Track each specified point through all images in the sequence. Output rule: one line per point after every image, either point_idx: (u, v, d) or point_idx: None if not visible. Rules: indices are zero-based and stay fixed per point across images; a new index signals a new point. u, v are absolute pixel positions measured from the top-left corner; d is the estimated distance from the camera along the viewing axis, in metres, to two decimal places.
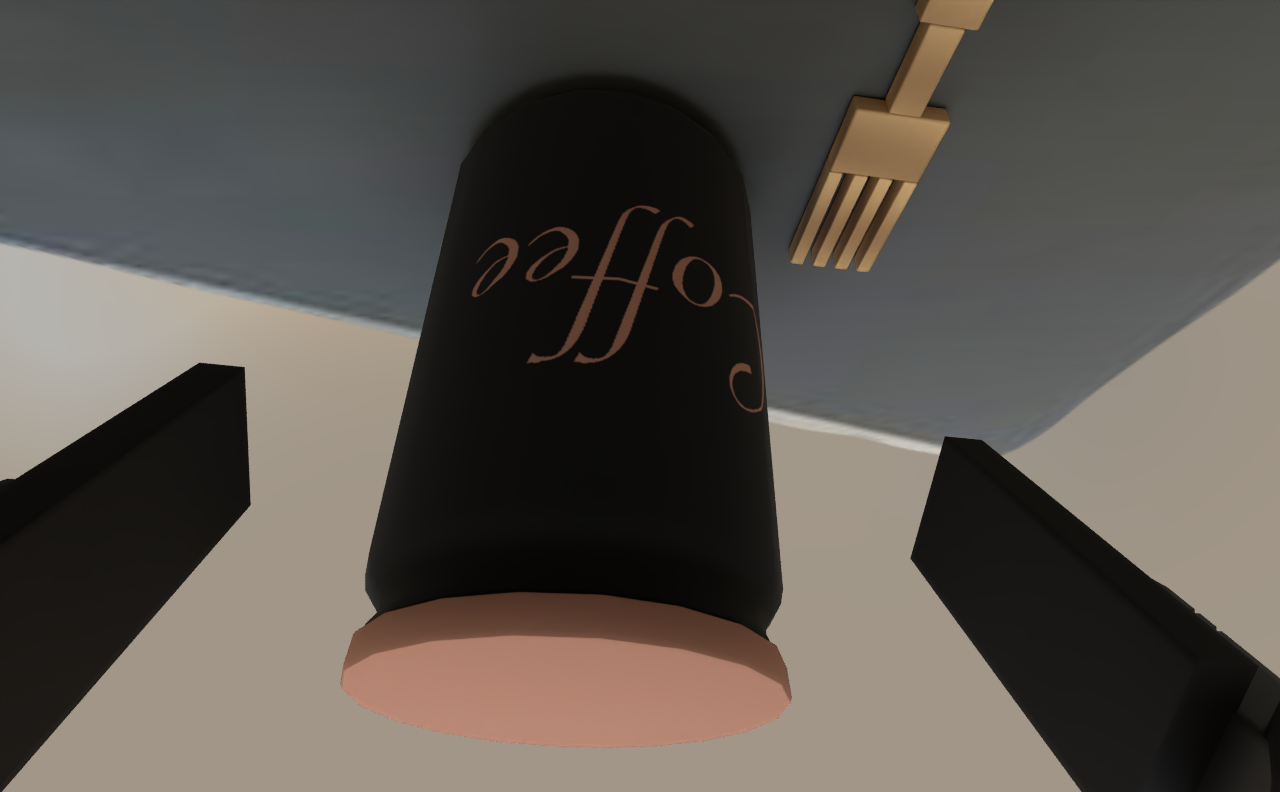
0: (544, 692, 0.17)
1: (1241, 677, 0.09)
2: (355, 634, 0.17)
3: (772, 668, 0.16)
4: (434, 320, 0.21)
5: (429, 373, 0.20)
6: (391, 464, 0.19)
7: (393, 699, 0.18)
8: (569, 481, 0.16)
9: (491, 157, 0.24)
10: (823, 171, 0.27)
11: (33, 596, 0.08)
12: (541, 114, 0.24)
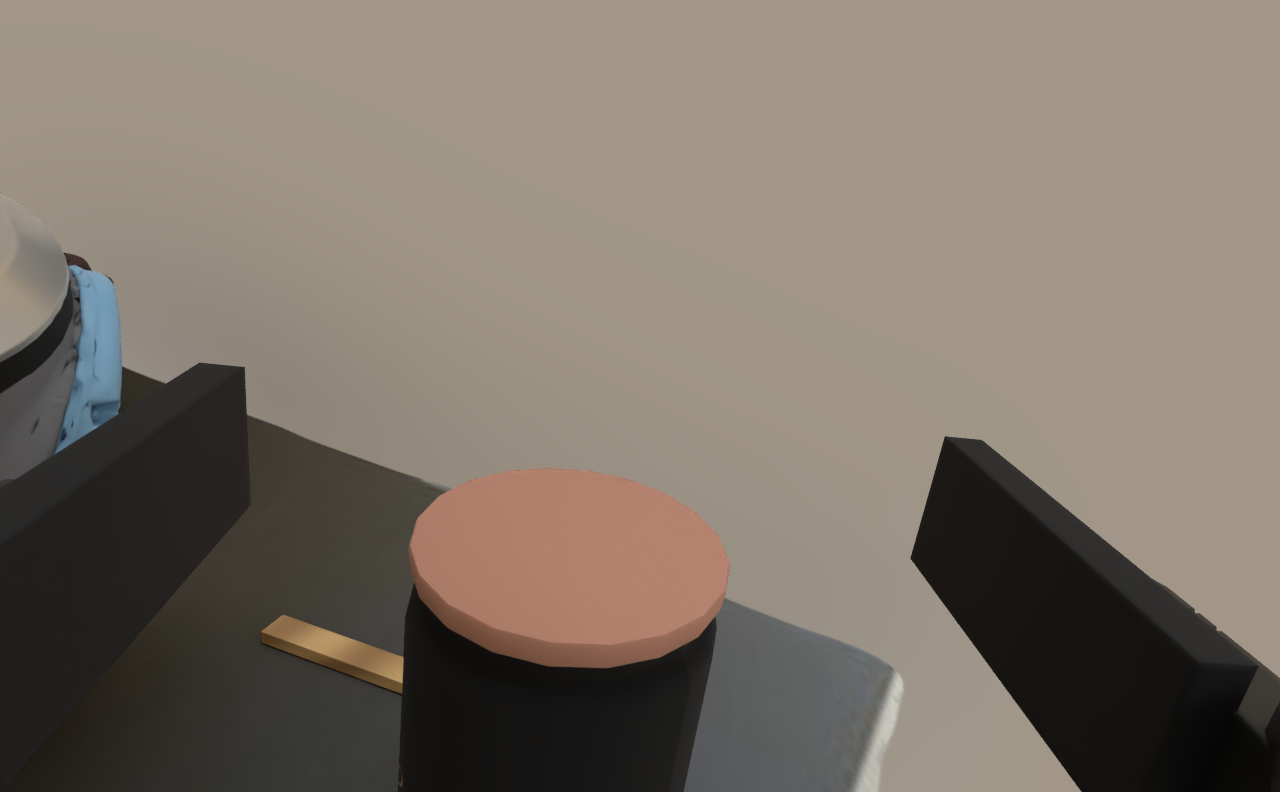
0: (533, 537, 0.26)
1: (1241, 677, 0.09)
2: (444, 622, 0.22)
3: None
4: None
5: (412, 760, 0.25)
6: (435, 738, 0.24)
7: (530, 609, 0.22)
8: None
9: None
10: None
11: (33, 596, 0.08)
12: None
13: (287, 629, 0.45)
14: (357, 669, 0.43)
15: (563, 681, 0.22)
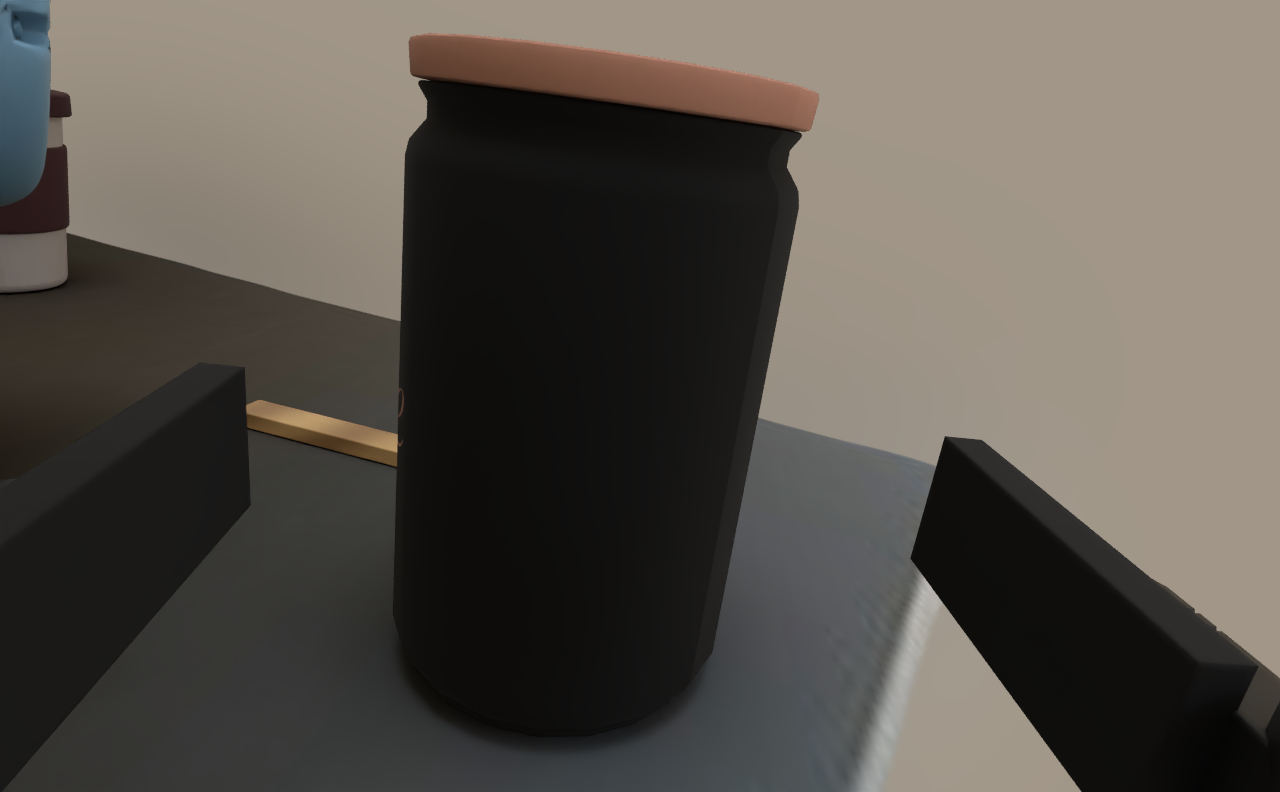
0: None
1: (1241, 677, 0.09)
2: (458, 73, 0.17)
3: None
4: (424, 423, 0.20)
5: (416, 338, 0.19)
6: (448, 269, 0.18)
7: None
8: None
9: (400, 586, 0.23)
10: None
11: (34, 596, 0.08)
12: None
13: (264, 409, 0.39)
14: (346, 442, 0.37)
15: (620, 143, 0.16)
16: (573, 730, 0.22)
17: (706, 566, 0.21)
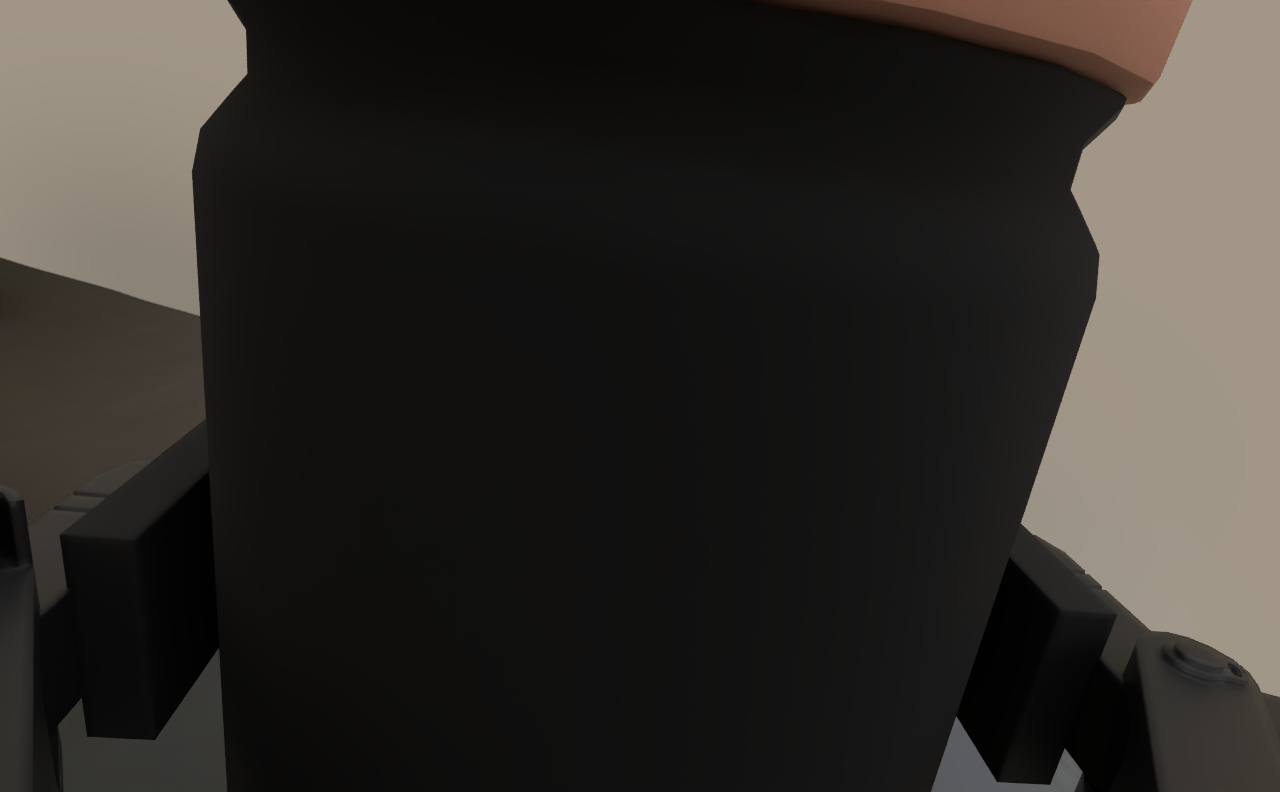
0: None
1: (1102, 625, 0.09)
2: None
3: None
4: (244, 758, 0.09)
5: (220, 577, 0.09)
6: (256, 451, 0.07)
7: None
8: None
9: None
10: None
11: (181, 562, 0.09)
12: None
13: None
14: None
15: (724, 122, 0.05)
16: None
17: None
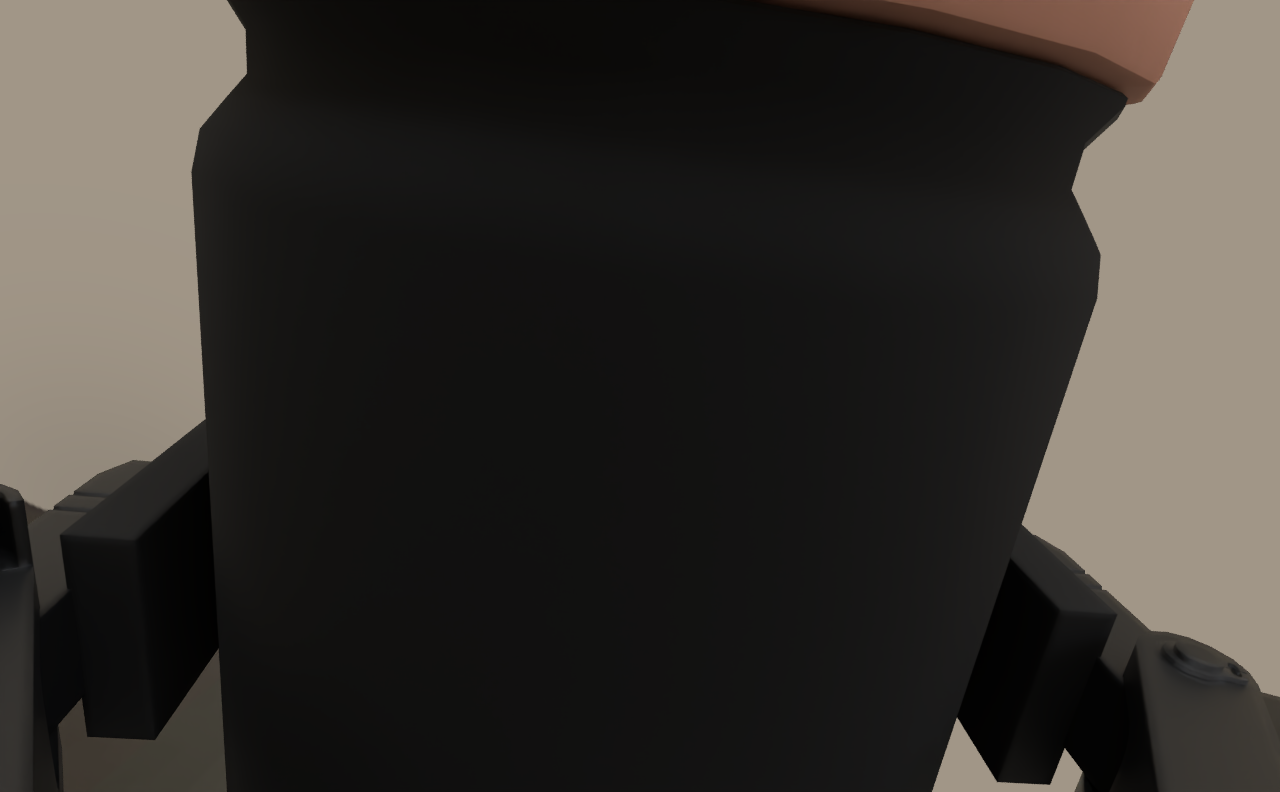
0: None
1: (1102, 625, 0.09)
2: None
3: None
4: (244, 759, 0.09)
5: (220, 578, 0.08)
6: (256, 452, 0.07)
7: None
8: None
9: None
10: None
11: (181, 561, 0.09)
12: None
13: None
14: None
15: (724, 121, 0.05)
16: None
17: None
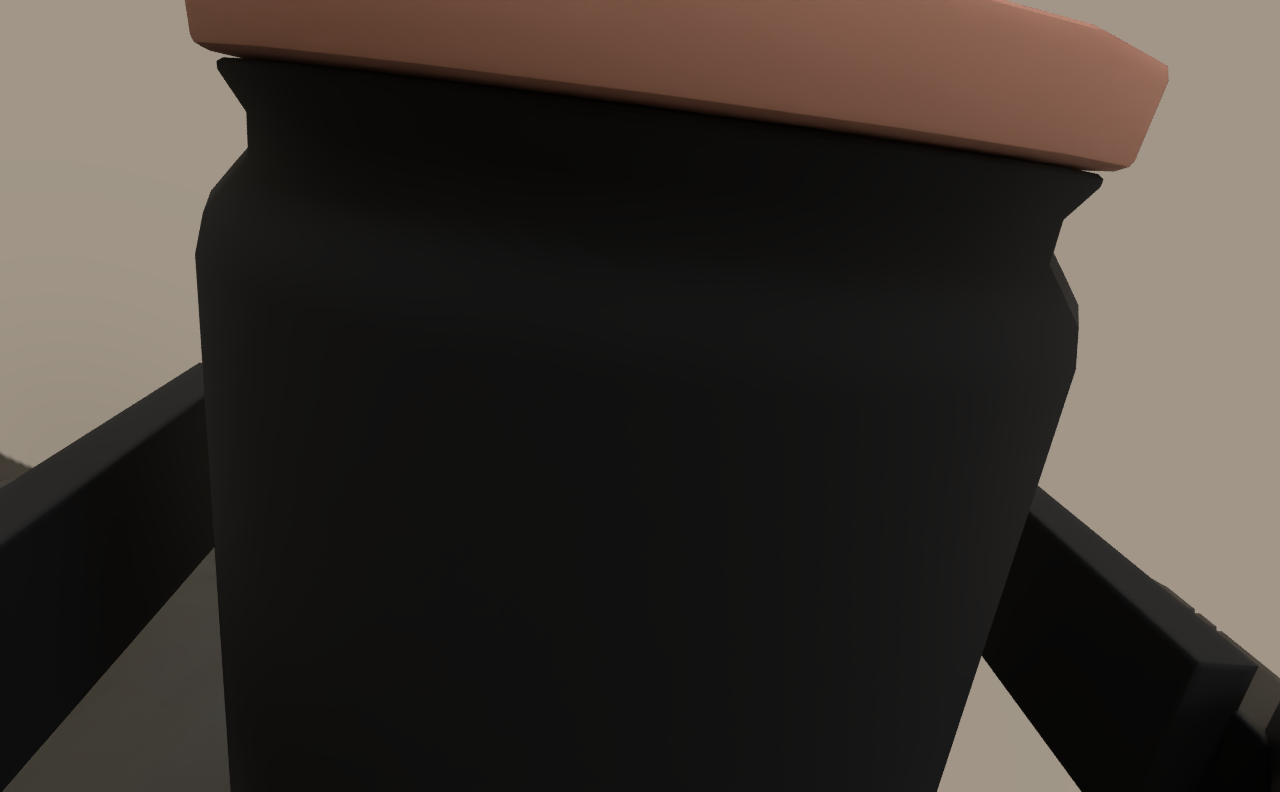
0: None
1: (1241, 677, 0.09)
2: (246, 28, 0.06)
3: None
4: None
5: (226, 637, 0.09)
6: (260, 528, 0.07)
7: None
8: None
9: None
10: None
11: (34, 596, 0.08)
12: None
13: None
14: None
15: (706, 228, 0.06)
16: None
17: None
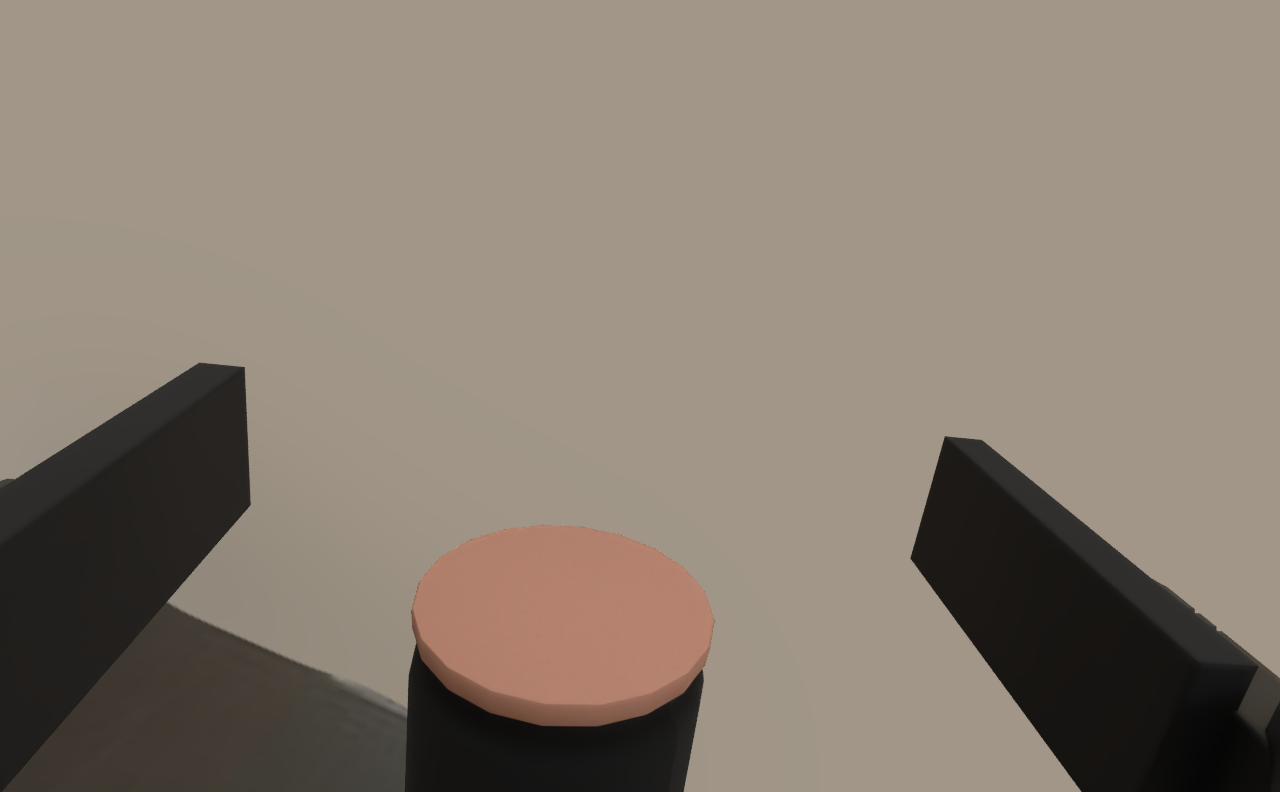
0: (529, 597, 0.27)
1: (1241, 677, 0.09)
2: (444, 684, 0.24)
3: None
4: None
5: None
6: None
7: (525, 671, 0.24)
8: None
9: None
10: None
11: (33, 596, 0.08)
12: None
13: None
14: None
15: (556, 738, 0.23)
16: None
17: None
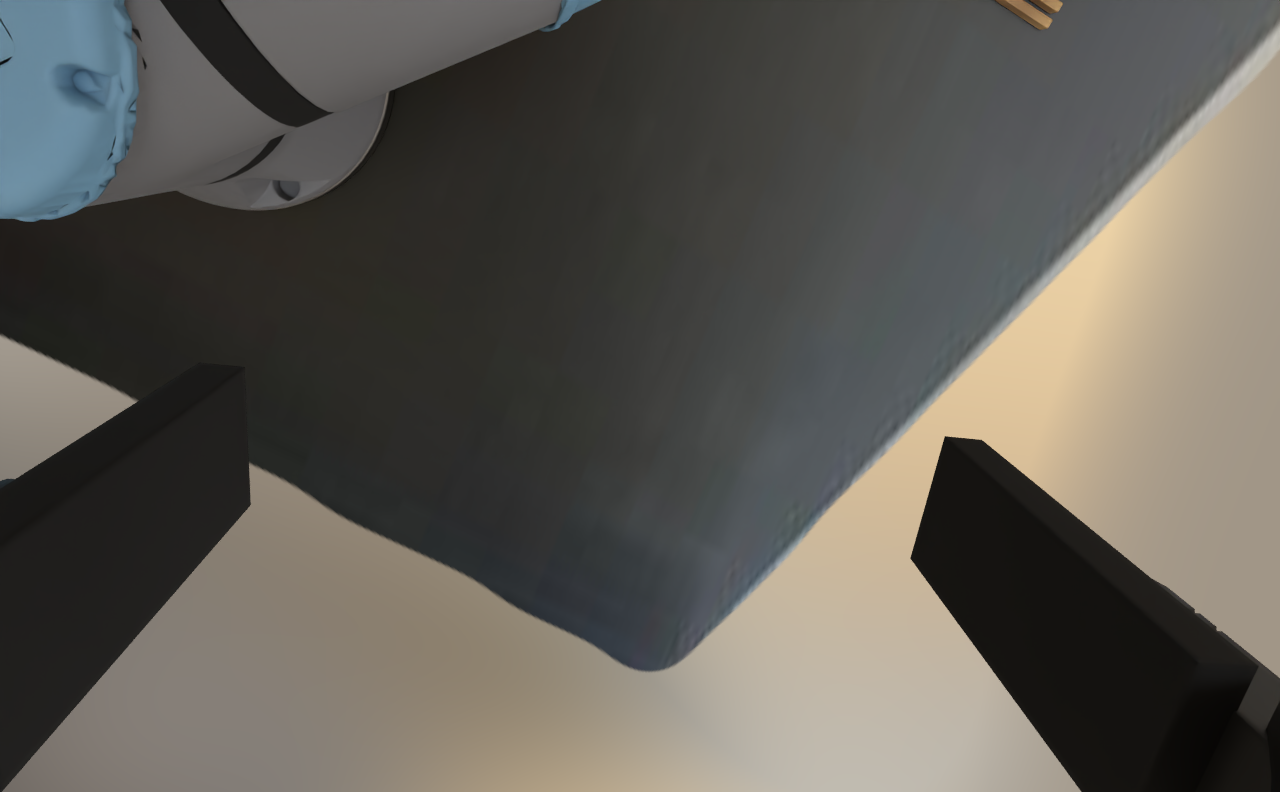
0: None
1: (1241, 677, 0.09)
2: None
3: None
4: None
5: None
6: None
7: None
8: None
9: None
10: None
11: (33, 596, 0.08)
12: None
13: None
14: None
15: None
16: None
17: None
